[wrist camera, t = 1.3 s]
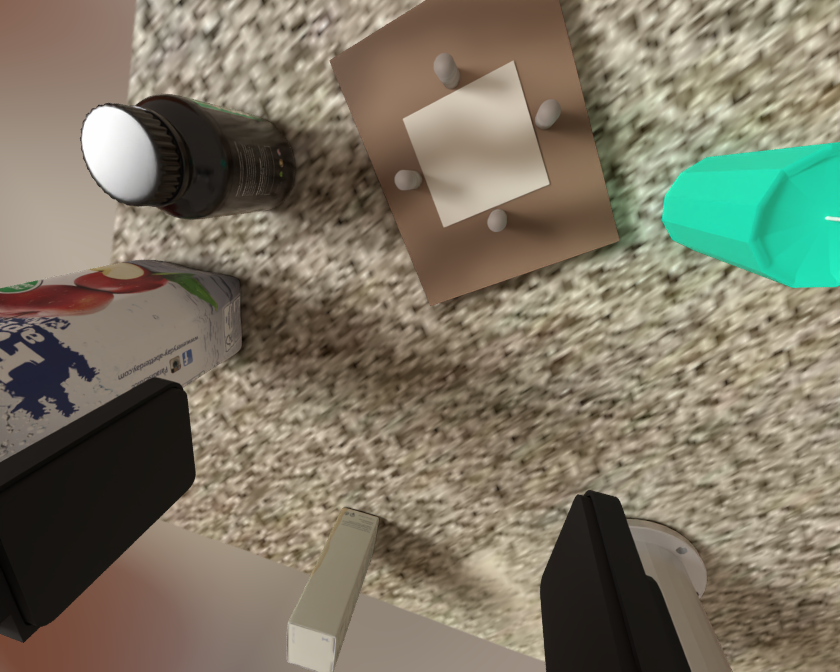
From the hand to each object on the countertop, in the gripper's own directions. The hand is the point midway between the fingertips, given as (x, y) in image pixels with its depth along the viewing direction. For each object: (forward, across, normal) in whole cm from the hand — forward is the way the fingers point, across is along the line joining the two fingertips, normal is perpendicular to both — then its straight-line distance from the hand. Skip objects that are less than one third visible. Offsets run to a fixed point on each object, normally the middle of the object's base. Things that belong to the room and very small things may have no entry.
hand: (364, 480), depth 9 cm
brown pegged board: (+23, +1, -8) cm, 25 cm away
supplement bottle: (+24, +18, -5) cm, 30 cm away
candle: (+24, -15, -7) cm, 29 cm away
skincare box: (+24, +6, +31) cm, 39 cm away
